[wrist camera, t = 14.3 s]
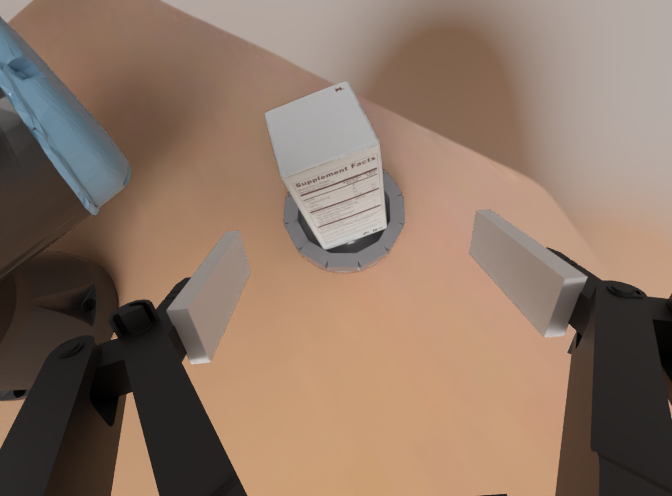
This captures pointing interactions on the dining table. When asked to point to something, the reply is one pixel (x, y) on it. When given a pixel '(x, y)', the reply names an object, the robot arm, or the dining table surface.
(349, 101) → the supplement box
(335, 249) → the round holder
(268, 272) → the dining table surface
